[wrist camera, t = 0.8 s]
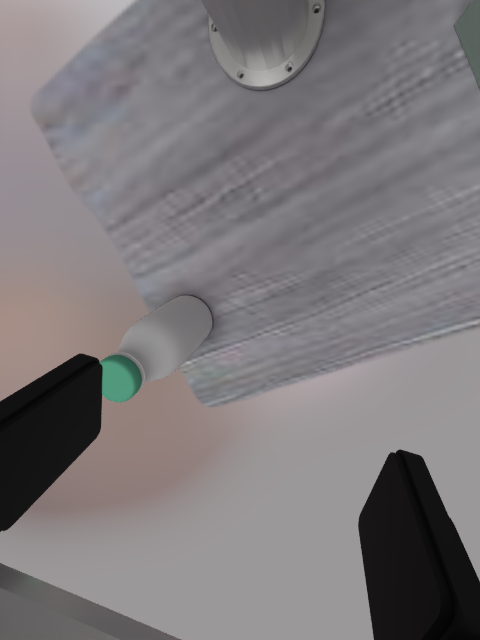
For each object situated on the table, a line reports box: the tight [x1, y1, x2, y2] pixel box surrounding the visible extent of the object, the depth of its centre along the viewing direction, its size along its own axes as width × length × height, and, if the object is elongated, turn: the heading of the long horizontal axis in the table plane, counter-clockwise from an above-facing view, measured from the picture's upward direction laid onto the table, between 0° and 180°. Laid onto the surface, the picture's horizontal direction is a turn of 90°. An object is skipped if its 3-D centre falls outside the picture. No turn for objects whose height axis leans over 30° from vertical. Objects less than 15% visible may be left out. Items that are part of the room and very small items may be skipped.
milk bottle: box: [99, 295, 212, 402], centre depth 39 cm, size 8×8×20 cm
